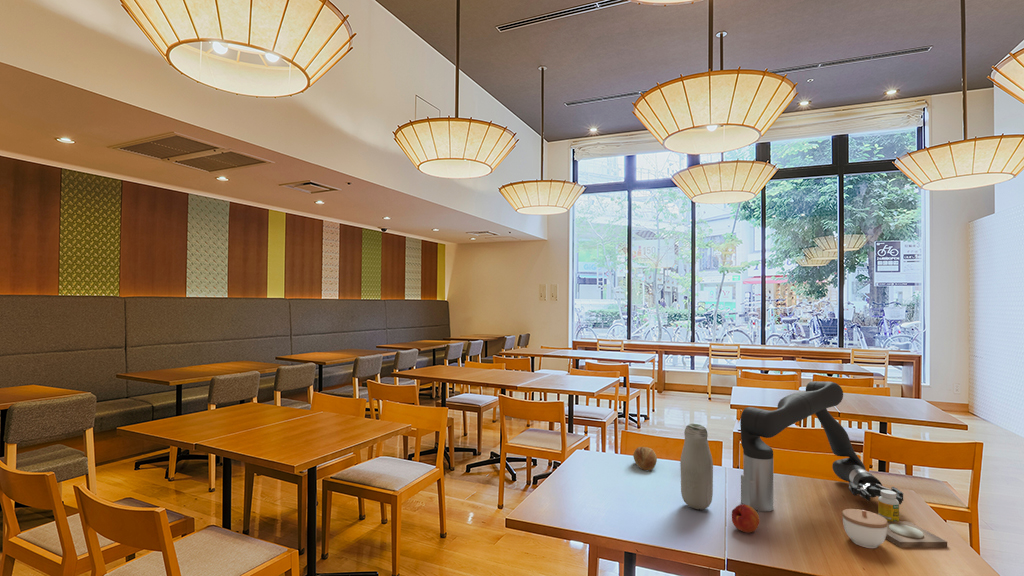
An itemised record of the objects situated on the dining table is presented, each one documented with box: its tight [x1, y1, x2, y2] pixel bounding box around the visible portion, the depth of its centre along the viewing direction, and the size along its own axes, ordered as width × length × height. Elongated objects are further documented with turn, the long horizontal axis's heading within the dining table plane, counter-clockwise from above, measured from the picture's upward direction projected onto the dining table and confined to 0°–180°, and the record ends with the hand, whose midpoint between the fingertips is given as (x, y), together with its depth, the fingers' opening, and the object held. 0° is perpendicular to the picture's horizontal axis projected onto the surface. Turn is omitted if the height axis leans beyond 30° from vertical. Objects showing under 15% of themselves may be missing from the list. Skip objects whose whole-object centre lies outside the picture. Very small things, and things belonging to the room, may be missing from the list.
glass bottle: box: [679, 423, 714, 511], centre depth 164 cm, size 10×10×28 cm
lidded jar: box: [841, 508, 888, 549], centre depth 140 cm, size 11×11×9 cm
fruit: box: [731, 503, 761, 534], centre depth 147 cm, size 8×8×8 cm
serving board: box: [885, 520, 948, 548], centre depth 145 cm, size 14×13×2 cm
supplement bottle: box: [877, 490, 900, 521], centre depth 155 cm, size 5×5×10 cm
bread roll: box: [633, 446, 658, 471], centre depth 205 cm, size 10×15×8 cm, turn 170°
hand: (884, 499), depth 157 cm, fingers open, 8 cm apart
